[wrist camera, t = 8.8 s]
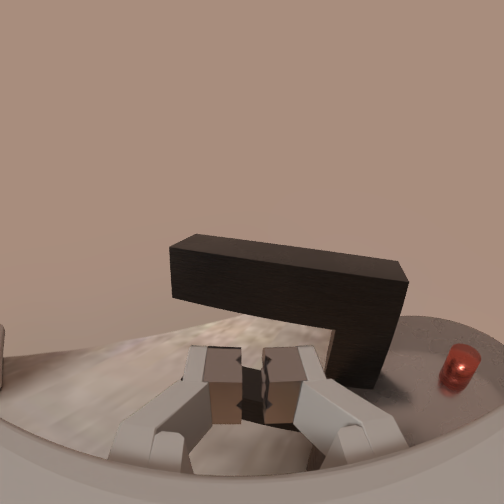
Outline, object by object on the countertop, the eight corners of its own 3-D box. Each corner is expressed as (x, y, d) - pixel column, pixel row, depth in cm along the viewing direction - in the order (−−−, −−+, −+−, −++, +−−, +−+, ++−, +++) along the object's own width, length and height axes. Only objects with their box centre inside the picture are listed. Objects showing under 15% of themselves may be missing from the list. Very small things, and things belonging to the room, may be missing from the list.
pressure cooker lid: (492, 331, 19) (517, 257, 16) (558, 462, 3) (630, 358, 1) (233, 297, 26) (235, 214, 24) (115, 433, 11) (66, 301, 8)
